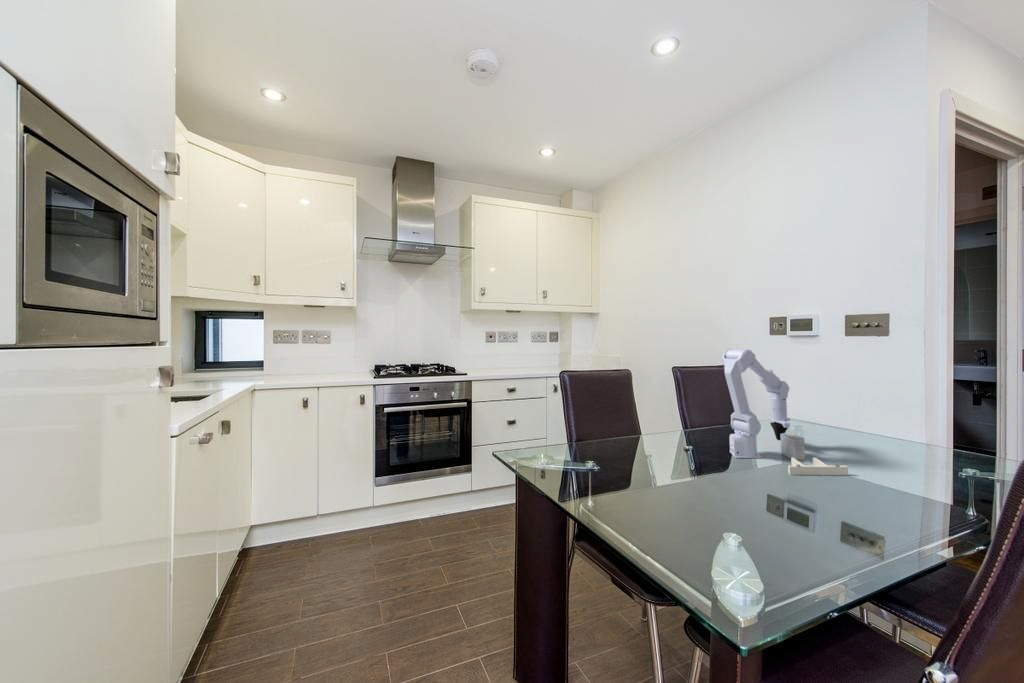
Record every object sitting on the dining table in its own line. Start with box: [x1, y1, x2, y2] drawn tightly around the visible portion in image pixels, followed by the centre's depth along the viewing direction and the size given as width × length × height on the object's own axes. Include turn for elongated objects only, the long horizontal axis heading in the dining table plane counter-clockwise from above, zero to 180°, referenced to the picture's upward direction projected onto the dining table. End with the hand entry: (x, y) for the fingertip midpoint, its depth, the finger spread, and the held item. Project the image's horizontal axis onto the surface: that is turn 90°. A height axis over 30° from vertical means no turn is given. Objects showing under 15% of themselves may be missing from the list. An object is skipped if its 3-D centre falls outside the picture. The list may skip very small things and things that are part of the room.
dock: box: [787, 457, 849, 476], centre depth 144 cm, size 18×11×3 cm, turn 77°
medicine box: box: [780, 432, 806, 461], centre depth 157 cm, size 8×4×9 cm, turn 179°
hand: (779, 439), depth 168 cm, fingers closed
